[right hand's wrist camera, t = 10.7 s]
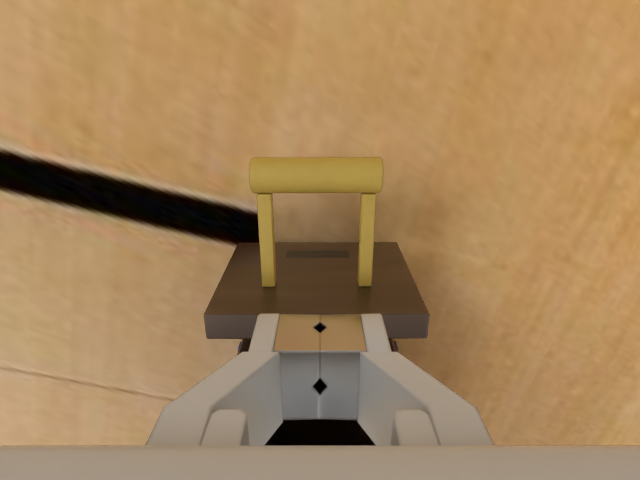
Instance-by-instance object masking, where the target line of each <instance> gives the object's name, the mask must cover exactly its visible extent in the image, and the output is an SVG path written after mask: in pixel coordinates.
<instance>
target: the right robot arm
mask: <svg viewBox="0 0 640 480" xmlns="http://www.w3.org/2000/svg"><path fill="white" fill-rule="evenodd" d="M307 419H332V420H357V422H358V423H359V425H360V426H361V427H362V428H363V430H364V431H365V432H366V434H367V435H368V436H369V437H370V439H371V440H372V441H373V442H374V444H375V445H376V446H264V445H265V444H266V443H267V441H268V440H269V439H270V438H271V436H272V435H273V434H274V433H275V431H276V430H277V429H278V428H279V426H280V425H281V424H282V423H283V420H307ZM0 480H640V445H494V443H493V441H492V439H491V437H490V435H489V433H488V431H487V428H486V426H485V424H484V422H483V420H482V418H481V416H480V414H479V412H478V410H477V408H476V407H475V406H473V405H472V404H471V403H469V402H468V401H466V400H465V399H463V398H462V397H461V396H459V395H458V394H456V393H455V392H454V391H452V390H451V389H449V388H448V387H447V386H445V385H444V384H442V383H441V382H439V381H438V380H437V379H435V378H434V377H432V376H431V375H430V374H428V373H427V372H425V371H424V370H423V369H421V368H420V367H418V366H417V365H415V364H414V363H413V362H411V361H410V360H408V359H407V358H406V357H404V356H403V355H401V354H400V353H399V352H392V351H391V347H390V344H389V340H388V336H387V333H386V329H385V325H384V321H383V318H382V315H381V314H380V313H373V314H336V315H320V314H279V313H272V314H259V315H258V317H257V321H256V325H255V329H254V332H253V336H252V340H251V344H250V347H249V351H248V352H241V353H240V354H239V355H237V356H236V357H234V358H233V359H232V360H230V361H229V362H227V363H226V364H224V365H223V366H222V367H220V368H219V369H217V370H216V371H215V372H213V373H212V374H210V375H209V376H207V377H206V378H205V379H203V380H202V381H200V382H199V383H198V384H196V385H195V386H193V387H192V388H190V389H189V390H188V391H186V392H185V393H183V394H182V395H181V396H179V397H178V398H176V399H175V400H173V401H172V402H171V403H169V404H168V405H166V406H165V407H164V408H163V410H162V412H161V414H160V416H159V418H158V420H157V422H156V424H155V427H154V429H153V431H152V433H151V435H150V437H149V439H148V441H147V443H146V445H28V446H0Z"/></svg>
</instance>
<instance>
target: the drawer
mask: <svg viewBox="0 0 640 480" xmlns="http://www.w3.org/2000/svg"><path fill="white" fill-rule="evenodd" d="M249 182H250V188H251V191H252V192H253V193H257V208H258V225H259V241H260V243H238V245H237V247H236V249H235V251H234V253H233V255H232V257H231V259H230V262H229V264H228V266H227V268H226V270H225V272H224V274H223V276H222V278H221V280H220V282H219V284H218V286H217V288H216V291H215V293H214V295H213V297H212V299H211V301H210V303H209V305H208V307H207V309H206V311H205V313H204V321H205V329H206V337H207V339H243V340H242V343H241V347H240V350H239V354H240V353H241V352H248V351H249V347H250V344H251V340H252V336H253V332H254V329H255V325H256V321H257V317H258V315H259V314H272V313H279V314H320V315H336V314H373V313H380V314H381V315H382V318H383V321H384V325H385V329H386V333H387V336H388V340H389V344H390V347H391V351H392V352H395V349H394V345H393V341H392V338H427V332H428V323H429V312H428V310H427V308H426V306H425V304H424V301H423V299H422V297H421V295H420V293H419V291H418V288H417V286H416V284H415V282H414V280H413V277H412V275H411V273H410V271H409V269H408V266H407V264H406V262H405V260H404V258H403V255H402V253H401V251H400V249H399V247H398V245H397V243H396V242H374V227H375V207H376V194H375V193H379V192H381V190H382V186H383V162H382V159H381V158H380V157H306V158H251V160H250V165H249ZM272 193H361V199H360V228H359V243H275V240H274V219H273V197H272ZM239 354H238V355H239ZM264 446H376V445H375V444H374V442H373V441H372V440H371V439H370V437H369V436H368V435H367V434H366V432H365V431H364V430H363V428H362V427H361V426H360V425H359V423H358V422H357V420H332V419H307V420H283V423H282V424H281V425H280V426H279V428H278V429H277V430H276V431H275V433H274V434H273V435H272V436H271V438H270V439H269V440H268V441H267V443H266V444H265V445H264Z"/></svg>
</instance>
